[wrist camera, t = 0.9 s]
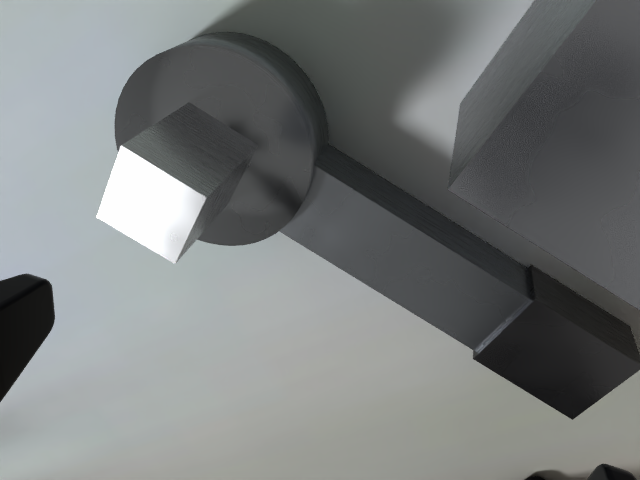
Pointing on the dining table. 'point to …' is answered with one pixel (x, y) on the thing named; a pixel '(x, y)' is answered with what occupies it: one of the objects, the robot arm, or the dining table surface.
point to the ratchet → (337, 215)
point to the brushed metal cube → (561, 138)
